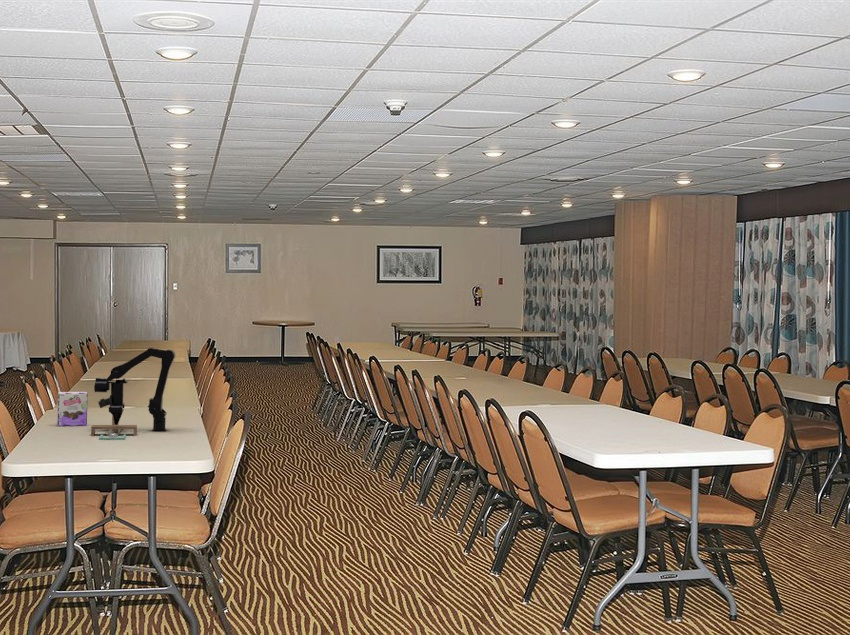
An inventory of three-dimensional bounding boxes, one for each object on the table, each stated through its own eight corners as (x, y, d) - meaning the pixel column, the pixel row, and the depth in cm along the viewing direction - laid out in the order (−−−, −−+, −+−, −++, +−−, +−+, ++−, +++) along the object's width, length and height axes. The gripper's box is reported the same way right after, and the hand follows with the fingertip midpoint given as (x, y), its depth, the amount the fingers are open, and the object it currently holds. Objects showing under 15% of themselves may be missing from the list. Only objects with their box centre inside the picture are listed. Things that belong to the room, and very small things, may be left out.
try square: (110, 429, 479) (110, 411, 479) (121, 429, 480) (121, 411, 480) (106, 436, 457) (107, 416, 457) (117, 435, 459) (118, 416, 458)
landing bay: (100, 436, 456) (100, 434, 456) (125, 436, 459) (125, 434, 459) (98, 439, 445) (99, 438, 445) (124, 439, 448) (124, 437, 448)
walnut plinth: (92, 433, 463) (92, 424, 463) (136, 433, 467) (136, 424, 467) (90, 435, 457) (91, 426, 457) (136, 435, 462) (136, 426, 462)
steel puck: (108, 437, 454) (108, 434, 454) (108, 436, 457) (108, 433, 457) (118, 437, 455) (118, 434, 455) (117, 436, 459) (117, 432, 459)
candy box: (57, 426, 485) (58, 392, 484) (56, 424, 490) (57, 391, 490) (87, 425, 490) (87, 392, 489) (86, 424, 495) (87, 391, 495)
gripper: (101, 390, 484) (100, 422, 485) (97, 394, 466) (97, 427, 467) (124, 390, 487) (124, 422, 487) (122, 394, 469) (121, 427, 469)
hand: (116, 424), depth 478 cm, fingers closed on try square, 3 cm apart
